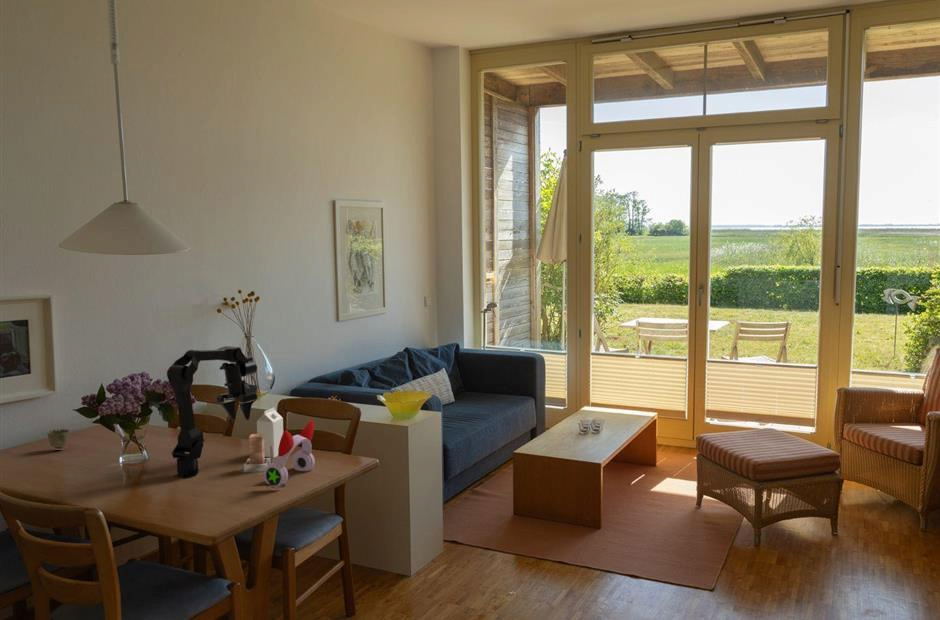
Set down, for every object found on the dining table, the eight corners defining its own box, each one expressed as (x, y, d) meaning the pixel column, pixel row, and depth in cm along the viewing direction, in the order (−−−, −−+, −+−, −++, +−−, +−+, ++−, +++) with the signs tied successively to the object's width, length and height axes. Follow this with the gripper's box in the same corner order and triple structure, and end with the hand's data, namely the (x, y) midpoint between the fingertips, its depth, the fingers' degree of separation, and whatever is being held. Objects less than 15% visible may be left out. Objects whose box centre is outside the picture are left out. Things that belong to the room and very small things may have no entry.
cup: (55, 448, 311) (54, 428, 310) (73, 448, 311) (72, 428, 310) (44, 453, 304) (43, 433, 303) (62, 453, 303) (61, 433, 303)
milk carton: (257, 460, 292) (256, 410, 290) (268, 454, 299) (266, 406, 297) (274, 461, 290) (272, 411, 288) (284, 456, 296) (282, 407, 295)
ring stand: (257, 479, 268) (256, 452, 267) (232, 474, 274) (231, 448, 273) (282, 470, 278) (281, 444, 277) (257, 465, 284) (256, 440, 283)
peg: (250, 470, 273) (248, 437, 272) (252, 466, 278) (251, 434, 277) (262, 469, 274) (261, 436, 273) (264, 466, 278) (263, 433, 277)
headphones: (296, 471, 278) (294, 416, 276) (319, 473, 274) (318, 418, 272) (263, 487, 259) (261, 429, 257) (287, 490, 256) (286, 431, 254)
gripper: (266, 374, 292) (272, 414, 293) (238, 375, 304) (244, 414, 305) (240, 380, 283) (247, 422, 284) (213, 381, 296) (220, 421, 296)
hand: (240, 419), depth 293 cm, fingers open, 9 cm apart
